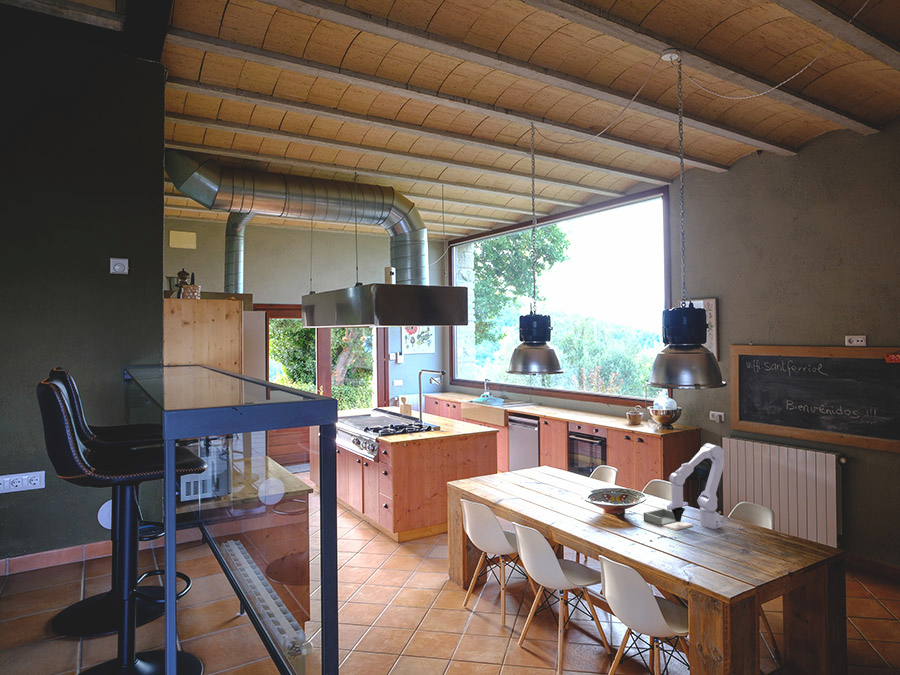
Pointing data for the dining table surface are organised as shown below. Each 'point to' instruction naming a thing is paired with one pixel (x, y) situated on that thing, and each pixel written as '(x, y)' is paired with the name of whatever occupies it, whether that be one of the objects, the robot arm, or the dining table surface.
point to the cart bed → (659, 517)
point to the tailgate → (678, 525)
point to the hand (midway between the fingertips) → (678, 521)
